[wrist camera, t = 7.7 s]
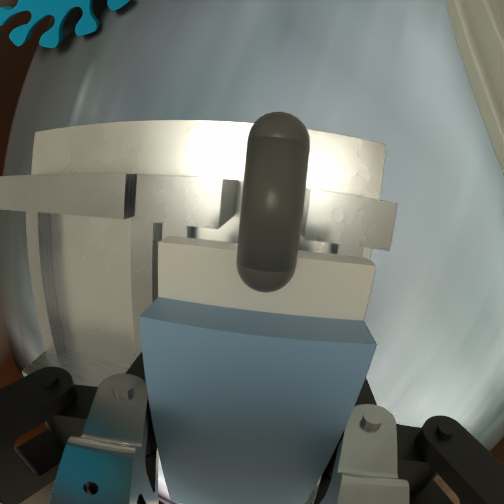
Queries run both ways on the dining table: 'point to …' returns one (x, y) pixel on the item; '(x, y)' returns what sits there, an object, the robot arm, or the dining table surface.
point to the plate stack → (483, 59)
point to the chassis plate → (161, 221)
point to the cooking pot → (446, 489)
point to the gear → (59, 6)
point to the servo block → (255, 342)
